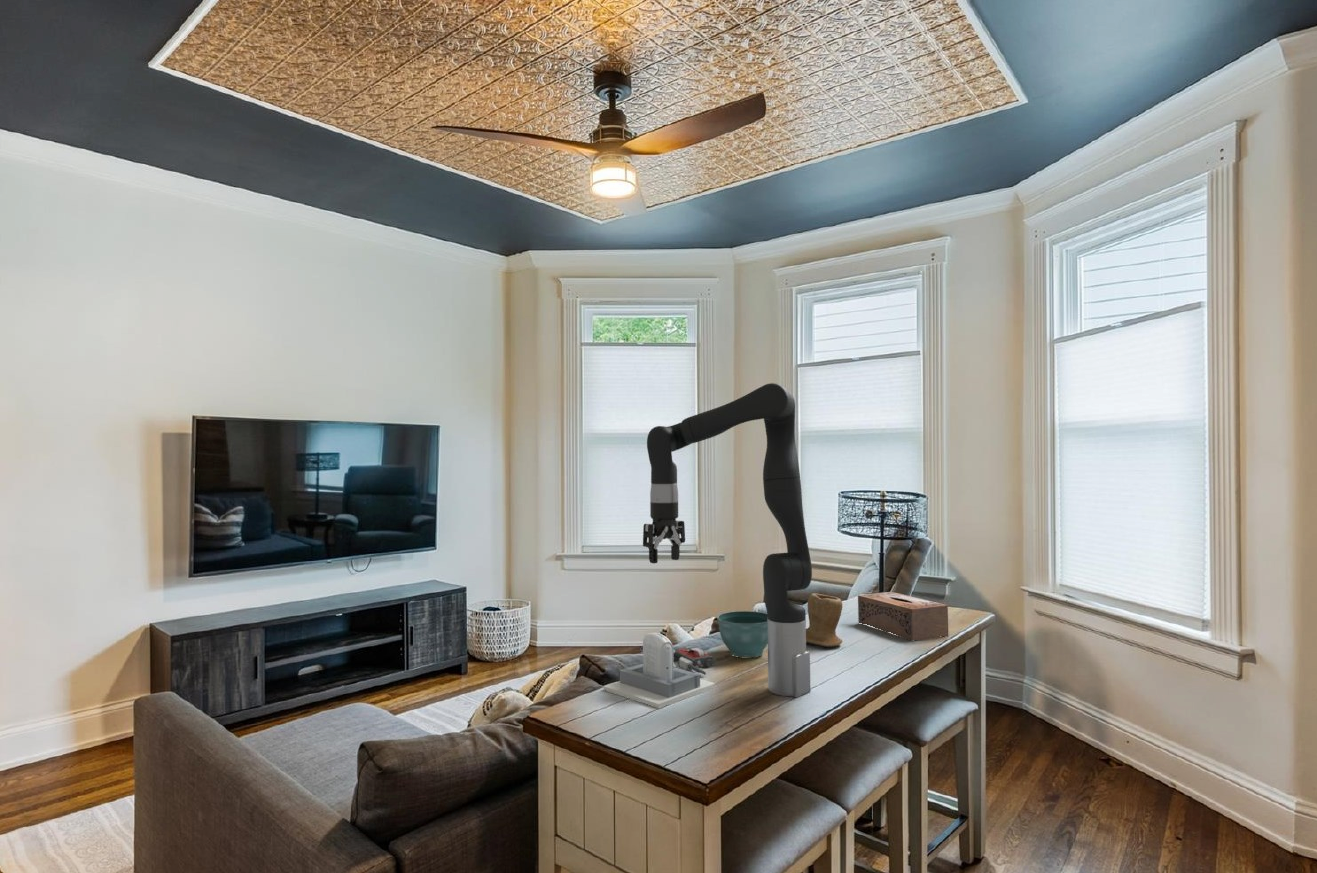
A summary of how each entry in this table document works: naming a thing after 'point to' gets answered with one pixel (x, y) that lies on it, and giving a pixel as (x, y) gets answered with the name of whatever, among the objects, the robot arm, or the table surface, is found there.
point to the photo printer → (658, 656)
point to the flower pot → (744, 632)
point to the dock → (652, 696)
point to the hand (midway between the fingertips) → (664, 561)
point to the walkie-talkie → (693, 659)
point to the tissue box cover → (903, 615)
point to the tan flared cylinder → (823, 620)
